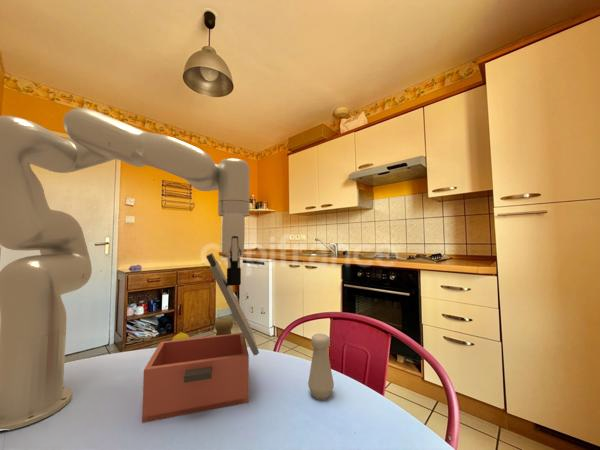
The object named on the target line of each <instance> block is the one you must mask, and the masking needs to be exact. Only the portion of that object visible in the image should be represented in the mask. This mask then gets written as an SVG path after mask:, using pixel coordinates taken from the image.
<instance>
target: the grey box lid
mask: <svg viewBox="0 0 600 450" xmlns="http://www.w3.org/2000/svg"><path fill="white" fill-rule="evenodd" d="M205 257H206V259H207V261H208V263H209V266H210V271H211V273H212V275H213V278H214V279H215V281H216V284H217V285H218V288H219V289H220V291H221V293H222V296H223V297H224V299H225V301H226V304H227V305H228V308H229V309H230V311H231V312H232V315H233V318H234V319H235V321H236V324H237V325H238V327H239V329H240V331H241V333H243V335H244V337H245V341H246V344H247V346H248V347H249V349H250V351H251V352H252V355H253V356H254V357H255V356H258V355H259V353H260V352H259V351H260V350H259V348H258V345H257V342H256V339H255V336H254V333H253V331H252V330H253V329H252V327H251V325H250V323H249V322H248V319H247V317H246V315H245V313H244V311H243V309H242V308H241V306H240V303H239V301H238V300H237V297H236V296H235V293H234V291H233V289H232V287H231V286H228V285H227V276H226V275H225V273H224V272H223V270H222V267H221V265H220V264H219V261H218V260H216V258H215V255H214V254H213V253H212V252H211V253H209V254H207V255H206V256H205Z"/></svg>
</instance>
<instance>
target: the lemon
mask: <svg viewBox="0 0 600 450" xmlns="http://www.w3.org/2000/svg"><path fill="white" fill-rule="evenodd" d="M190 338H191V337H190V336H189V335H188V334H187V333H185V332H183V331H180V332H178V333H177V334H176V335H175V336H173V337H172V339H171V341H172V340H181V339H190Z"/></svg>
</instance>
